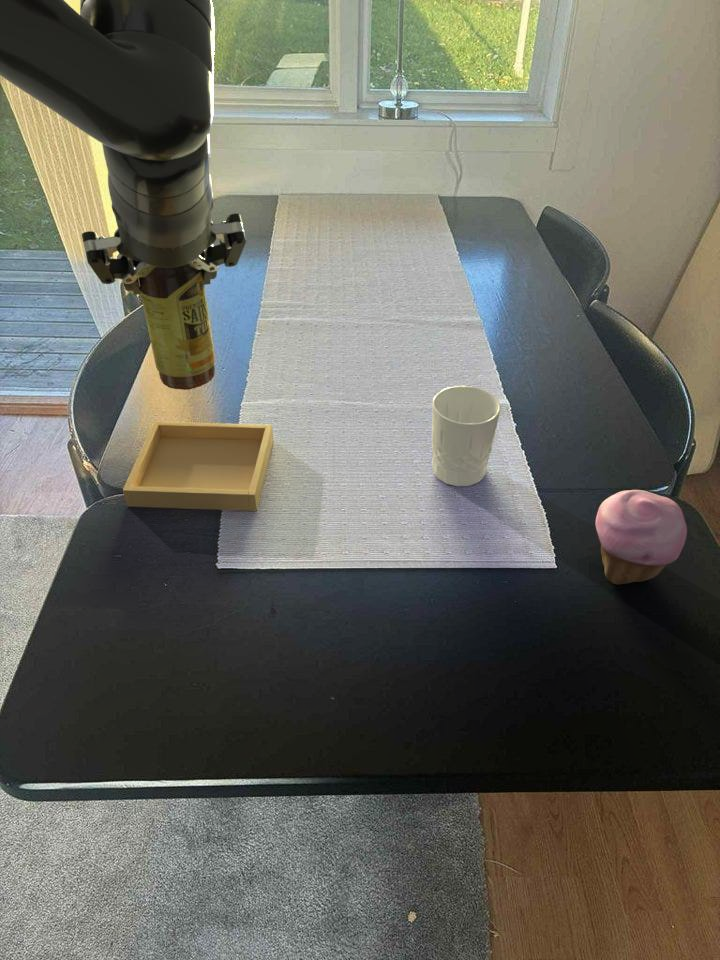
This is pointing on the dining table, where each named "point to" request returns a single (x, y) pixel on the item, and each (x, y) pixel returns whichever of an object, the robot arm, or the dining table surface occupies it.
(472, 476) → the white cup
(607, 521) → the cupcake
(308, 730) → the dining table surface
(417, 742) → the dining table surface
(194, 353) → the sauce bottle
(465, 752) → the dining table surface
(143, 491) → the serving tray
